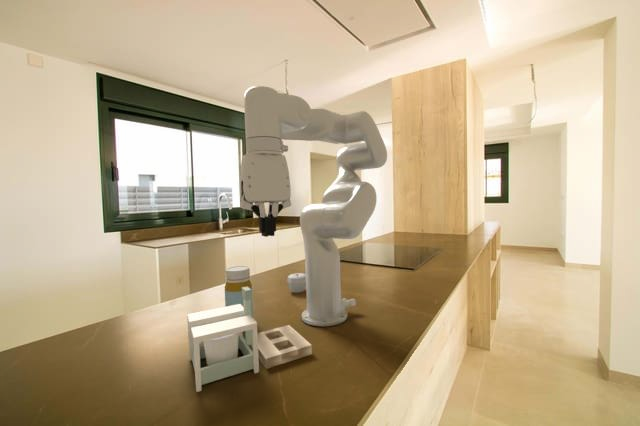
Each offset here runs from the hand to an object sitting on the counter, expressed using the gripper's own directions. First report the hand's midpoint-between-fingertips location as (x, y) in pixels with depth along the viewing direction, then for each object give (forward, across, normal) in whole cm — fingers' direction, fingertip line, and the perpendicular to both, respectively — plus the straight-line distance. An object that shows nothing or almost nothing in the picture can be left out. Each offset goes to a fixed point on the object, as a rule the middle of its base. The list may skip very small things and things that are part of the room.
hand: (267, 235), depth 62 cm
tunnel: (+25, +10, 0) cm, 27 cm away
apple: (+25, -22, -36) cm, 49 cm away
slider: (+25, +10, 0) cm, 27 cm away
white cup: (+25, +10, 0) cm, 27 cm away
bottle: (+25, +2, -18) cm, 31 cm away
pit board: (+25, -2, 0) cm, 25 cm away
